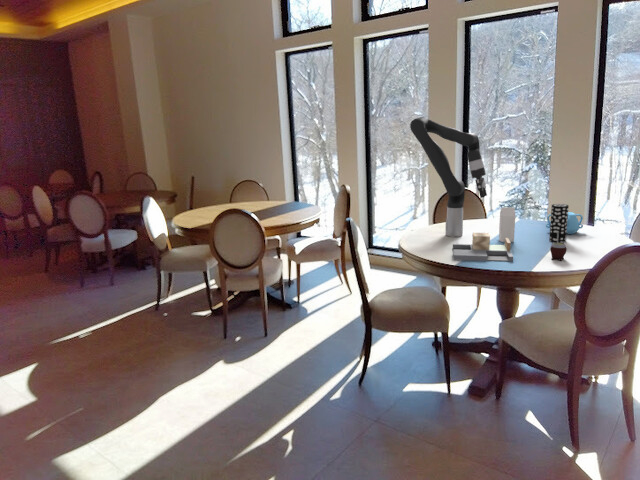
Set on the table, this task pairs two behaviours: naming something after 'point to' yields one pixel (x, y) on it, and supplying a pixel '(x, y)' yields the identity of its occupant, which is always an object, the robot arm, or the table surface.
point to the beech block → (481, 241)
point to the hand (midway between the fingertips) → (483, 196)
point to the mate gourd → (558, 250)
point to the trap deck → (483, 252)
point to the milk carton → (507, 224)
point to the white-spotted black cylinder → (558, 222)
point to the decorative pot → (570, 222)
